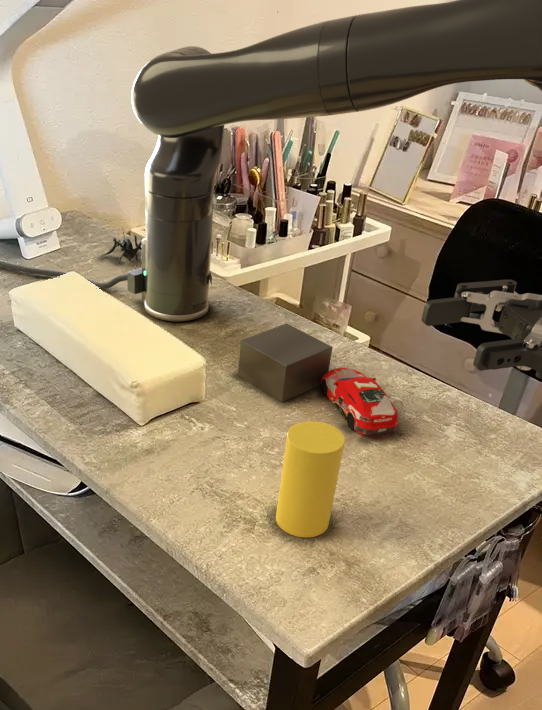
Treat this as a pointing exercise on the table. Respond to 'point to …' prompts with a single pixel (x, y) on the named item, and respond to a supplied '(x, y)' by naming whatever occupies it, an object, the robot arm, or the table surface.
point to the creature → (126, 248)
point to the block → (284, 361)
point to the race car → (360, 401)
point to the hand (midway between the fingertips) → (450, 334)
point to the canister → (309, 478)
